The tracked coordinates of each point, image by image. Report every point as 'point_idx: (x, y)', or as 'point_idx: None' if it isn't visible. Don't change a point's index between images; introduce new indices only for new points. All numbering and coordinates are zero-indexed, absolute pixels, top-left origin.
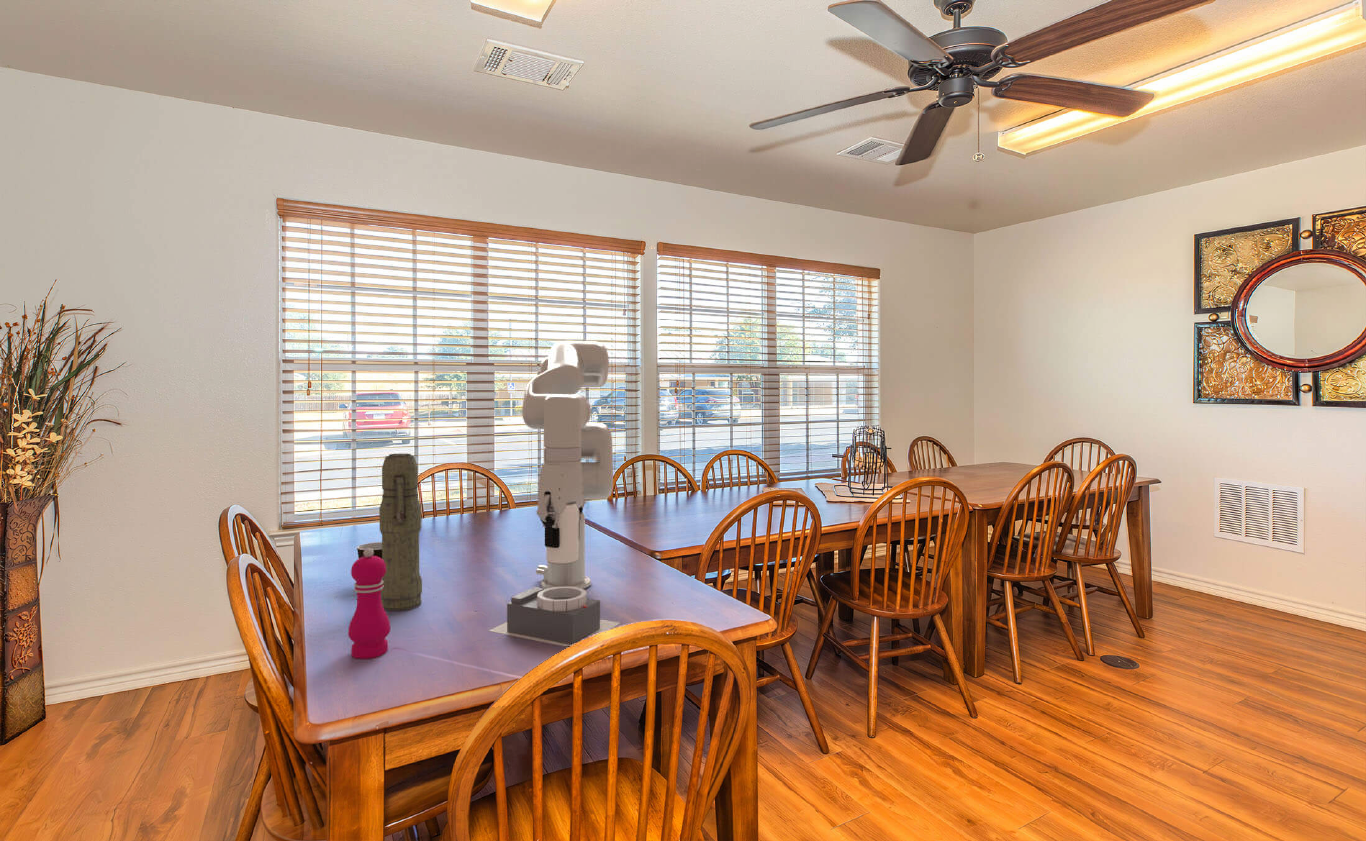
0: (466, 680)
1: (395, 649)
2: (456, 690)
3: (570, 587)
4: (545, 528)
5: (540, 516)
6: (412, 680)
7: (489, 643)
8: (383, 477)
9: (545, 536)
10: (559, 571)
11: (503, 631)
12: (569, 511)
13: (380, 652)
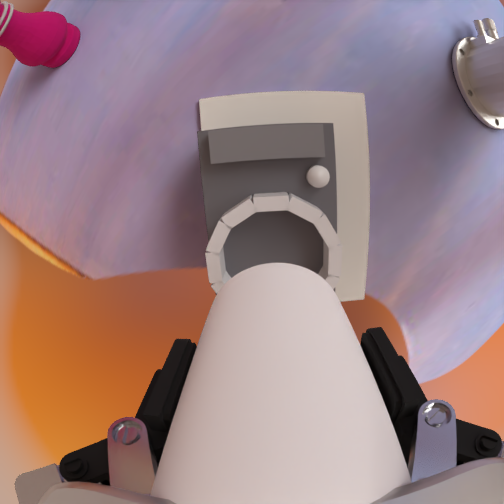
0: (64, 233)
1: (80, 56)
2: (48, 244)
3: (334, 250)
4: (148, 409)
5: (46, 475)
6: (35, 175)
7: (160, 146)
8: None
9: (162, 375)
10: (487, 76)
11: (211, 127)
12: None
13: (55, 65)
